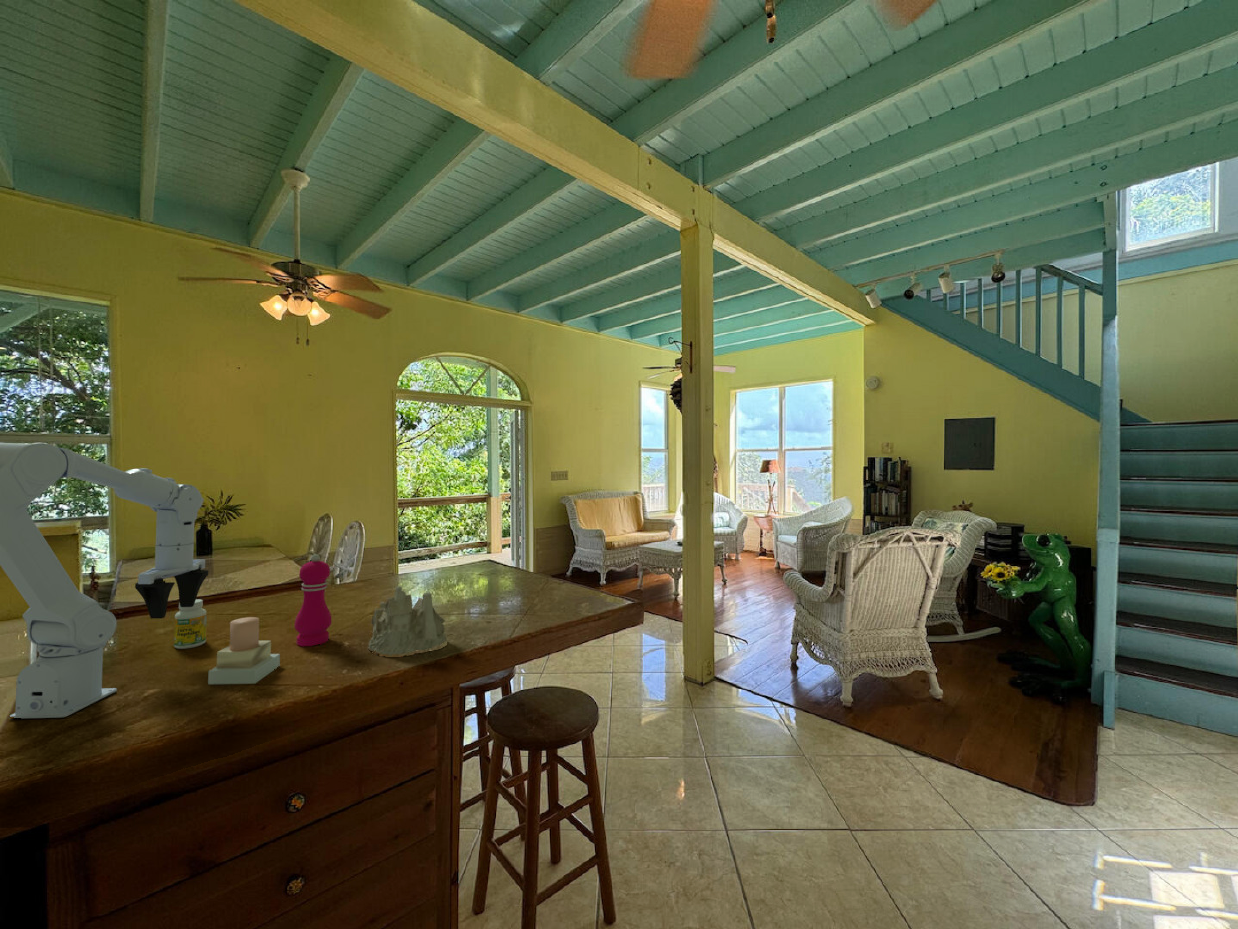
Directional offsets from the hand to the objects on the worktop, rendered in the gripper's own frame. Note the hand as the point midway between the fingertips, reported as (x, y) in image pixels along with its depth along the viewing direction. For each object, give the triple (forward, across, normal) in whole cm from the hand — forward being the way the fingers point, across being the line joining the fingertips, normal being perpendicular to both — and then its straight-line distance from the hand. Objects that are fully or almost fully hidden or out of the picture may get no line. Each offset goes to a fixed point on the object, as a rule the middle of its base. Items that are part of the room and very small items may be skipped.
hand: (172, 612), depth 100 cm
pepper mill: (+11, +12, -21) cm, 26 cm away
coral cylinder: (+5, -6, -17) cm, 19 cm away
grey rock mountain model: (+11, +10, -42) cm, 45 cm away
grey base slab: (+11, -6, -17) cm, 21 cm away
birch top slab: (+8, -6, -17) cm, 19 cm away
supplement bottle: (+11, +11, +4) cm, 16 cm away
